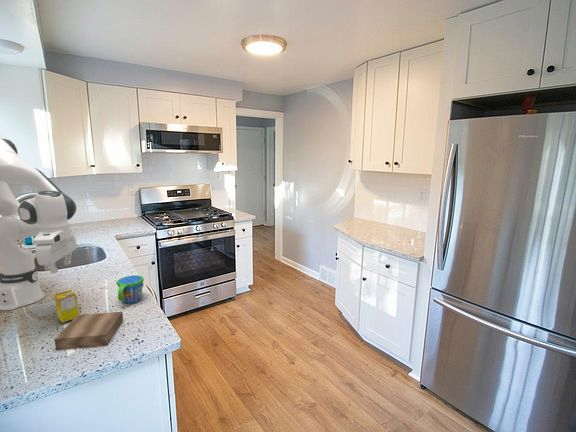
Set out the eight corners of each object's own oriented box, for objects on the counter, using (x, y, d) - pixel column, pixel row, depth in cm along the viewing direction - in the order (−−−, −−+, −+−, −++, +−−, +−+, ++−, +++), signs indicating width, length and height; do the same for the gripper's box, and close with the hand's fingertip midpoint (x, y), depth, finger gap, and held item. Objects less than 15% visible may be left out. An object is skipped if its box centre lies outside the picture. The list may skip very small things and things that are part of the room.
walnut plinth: (56, 349, 104) (54, 339, 103) (79, 324, 119) (77, 315, 118) (107, 345, 106) (105, 334, 105) (123, 320, 122) (122, 311, 121)
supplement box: (74, 313, 127) (71, 289, 125) (79, 318, 123) (76, 293, 121) (57, 319, 122) (53, 294, 120) (62, 324, 119) (58, 298, 117)
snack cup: (134, 291, 147) (132, 272, 145) (153, 294, 145) (151, 273, 143) (109, 307, 132) (106, 285, 130) (130, 310, 130) (127, 287, 128)
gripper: (61, 227, 125) (66, 260, 128) (29, 241, 106) (36, 279, 108) (78, 227, 126) (83, 259, 129) (49, 240, 107) (55, 277, 109)
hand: (61, 268), depth 119 cm, fingers open, 8 cm apart
